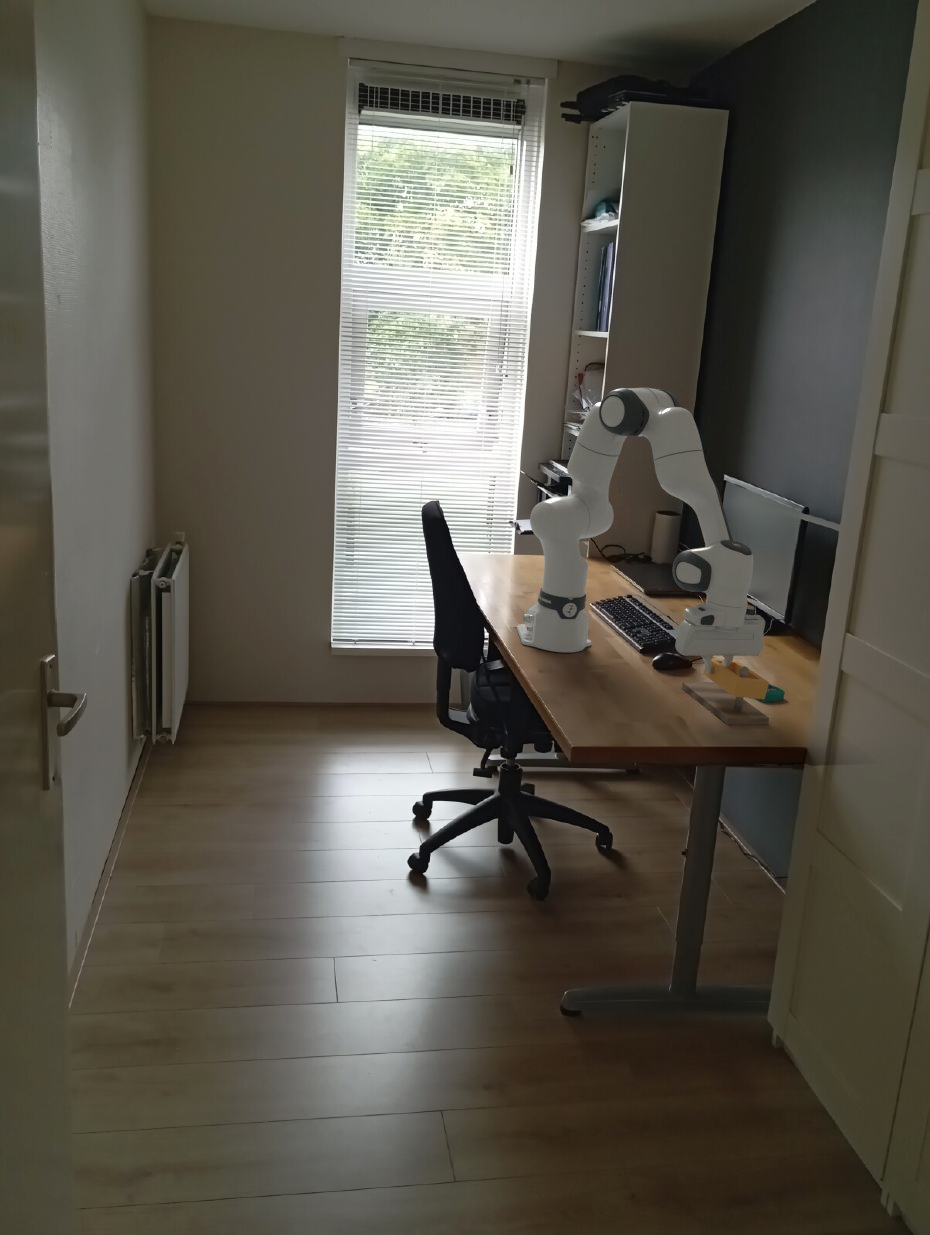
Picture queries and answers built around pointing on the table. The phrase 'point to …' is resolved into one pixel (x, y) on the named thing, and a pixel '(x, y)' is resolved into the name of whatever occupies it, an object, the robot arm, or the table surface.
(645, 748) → the table surface
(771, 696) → the digital multimeter
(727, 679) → the orange rectangular frame
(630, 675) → the table surface
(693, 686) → the keeper board
